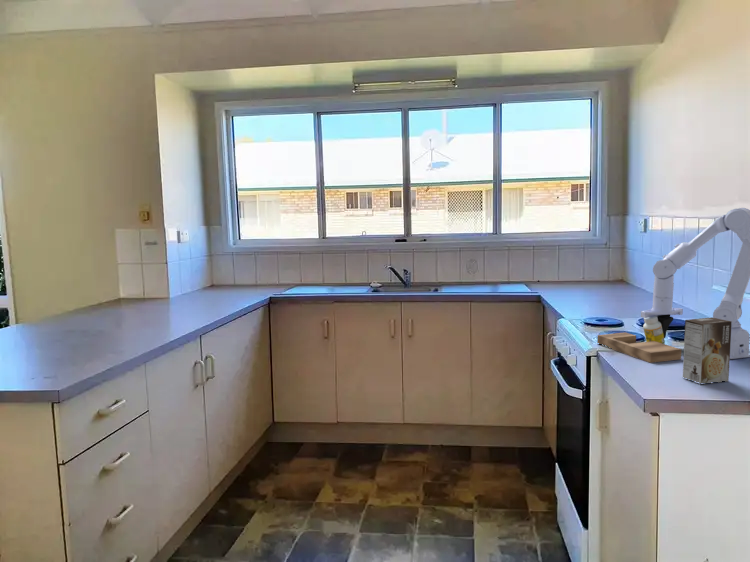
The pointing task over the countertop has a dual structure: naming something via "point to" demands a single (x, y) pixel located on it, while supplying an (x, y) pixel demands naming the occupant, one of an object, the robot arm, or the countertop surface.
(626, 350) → the board
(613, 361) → the countertop surface
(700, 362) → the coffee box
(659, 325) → the supplement bottle
